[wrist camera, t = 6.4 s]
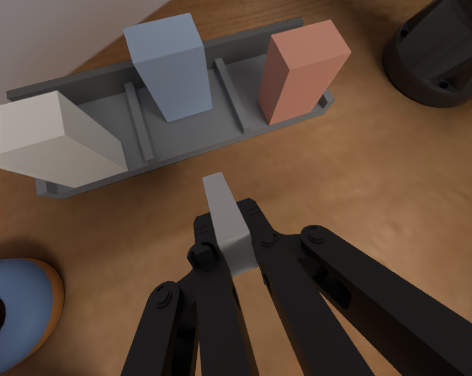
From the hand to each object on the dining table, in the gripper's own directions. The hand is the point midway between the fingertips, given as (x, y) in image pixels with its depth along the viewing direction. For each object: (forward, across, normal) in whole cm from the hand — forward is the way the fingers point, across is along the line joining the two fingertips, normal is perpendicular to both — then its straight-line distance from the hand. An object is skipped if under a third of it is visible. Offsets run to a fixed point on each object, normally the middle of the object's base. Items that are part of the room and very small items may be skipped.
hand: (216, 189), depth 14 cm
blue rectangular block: (+14, 0, +5) cm, 15 cm away
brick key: (+11, +12, +2) cm, 16 cm away
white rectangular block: (+11, -12, +2) cm, 16 cm away
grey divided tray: (+15, 0, +4) cm, 15 cm away
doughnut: (+4, -23, -8) cm, 25 cm away
